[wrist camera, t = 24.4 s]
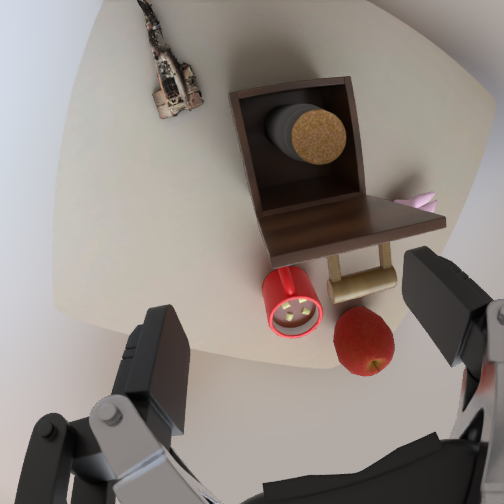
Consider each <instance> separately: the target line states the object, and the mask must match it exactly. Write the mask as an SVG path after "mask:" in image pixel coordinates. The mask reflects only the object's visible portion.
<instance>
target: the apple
mask: <svg viewBox="0 0 504 504" xmlns="http://www.w3.org/2000/svg"><path fill="white" fill-rule="evenodd" d="M333 341H334V345H335V349H336V352H337V356H338V359H339V362H340V363H341V364H342V365H343V366H344V367H345V368H347V369H348V370H349V371H350V372H351V373H352V374H356V375H360V376H372V375H374V374H377V373H378V372H380V371H381V370H382V369H384V368H385V367H386V366H387V365H388V364H389V363H390V361H391V360H392V357H393V354H394V350H395V347H394V345H395V344H394V338H393V334H392V332H391V330H390V328H389V327H388V326H387V324H386V323H385V322H384V320H383V319H382V318H381V316H379V315H377V314H376V313H374V312H372V311H371V310H369V309H367V308H365V307H363V306H362V307H354V308H352V309H350V310H348V311H346V312H345V313H344V314H343V315H342V316H341V317H340V318H339V319H338V321H337V322H336V325H335V330H334V340H333Z"/></svg>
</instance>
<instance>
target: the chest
mask: <svg viewBox="0 0 504 504" xmlns="http://www.w3.org/2000/svg"><path fill="white" fill-rule="evenodd" d="M228 98H229V103H230V107H231V111H232V116H233V120H234V124H235V129H236V133H237V137H238V142H239V146H240V151H241V155H242V159H243V164H244V168H245V173H246V177H247V182H248V186H249V191H250V195H251V199H252V203H253V206H254V210H255V214H256V217H257V218H259V217H263V216H268V215H273V214H277V213H282V212H286V211H291V210H296V209H301V208H305V207H310V206H315V205H320V204H325V203H330V202H335V201H340V200H345V199H350V198H355V197H360V196H365V195H366V188H365V177H364V166H363V156H362V148H361V139H360V132H359V124H358V118H357V111H356V105H355V99H354V93H353V87H352V82H351V77H350V76H347V77H333V78H322V79H312V80H304V81H296V82H288V83H282V84H275V85H269V86H263V87H257V88H252V89H247V90H242V91H237V92H232V93H229V97H228ZM287 104H311V105H315V106H317V107H319V108H321V109H323V110H326V111H328V112H331V113H333V114H334V115H336V116H337V117H338V118H339V119H340V121H341V122H342V124H343V126H344V128H345V131H346V143H345V147H344V149H343V151H342V153H341V154H340V156H339V157H338V158H336V159H335V160H334V161H332V162H330V163H327V164H322V165H316V164H311V163H308V162H303V161H298V160H295V159H293V158H291V157H289V156H288V155H286V154H285V153H284V152H282V151H281V150H280V149H278V148H277V147H276V146H275V145H274V144H272V143H271V142H270V141H269V139H268V138H267V136H266V134H265V131H264V122H265V118H266V116H267V115H268V113H269V112H270V111H271V110H272V109H274V108H275V107H278V106H281V105H287Z"/></svg>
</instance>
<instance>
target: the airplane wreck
mask: <svg viewBox="0 0 504 504" xmlns="http://www.w3.org/2000/svg"><path fill="white" fill-rule="evenodd" d="M137 2H138V3H139V5H140V7H141V8H142V10H143V12H144V13H145V14H144V15H145V16H146V25H145V26H146V27H147V28H148V33H149V41H150V45H151V48H152V52H153V55H154V60H155V65H156V69H157V77H158V80H159V83H160V87H161V90H160V91H158V92H155V93H153V94H152V96H153V98H154V100H155V103H156V107H157V109H158V112H159V115H160V118H161V119H165V118H168V117H172V116H174V117H175V116H177V115H178V113H179V112H180V111H181V110H189V111H191V109H193V108H196V107H198V106H200V105H202V104H203V102H204V101H203V100H202V99H201V98H200V97H202V96H201V92H200V91H199V90H198V87H194V83H195V81H196V80H195V81H194V80H193V79H195V78H196V77H194V75H193V74H194V73H193V72H192V70H191V67H190V65H188V64H186V63H183V64H179V63H178V62H177V59H176V58H175V56H174V55H172V52H171V51H170V50H171V49H170V48H169V49H166V48H164V49H166V50H163V49H162V48H160V47H159V46H161V45H160V44H159V43H158V38H157V35H156V34H158V33H159V32H158V33H155V32H156V30H158V29H159V30H160V29H161V27H160V26H159V25H158V24H159V21H156V20H157V18H156V16H155V14H154V12H153V10H152V8H151V6H152V4H151V6H150V5H149V3H148V2H147V1H146V0H143V2H142V1H141V0H137ZM151 12H152V14H151ZM153 14H154V15H153ZM154 18H155V19H154ZM153 19H154V20H153ZM153 23H156V26H153ZM161 30H162V29H161ZM161 30H160V33H161V34H162V32H161ZM152 36H154V37H152ZM155 38H156V40H155ZM162 38H163V35H162ZM156 42H157V43H158V44H157V43H156ZM163 45H167V44H163ZM180 66H181V67H182V70H180ZM196 85H197V84H196ZM198 93H199V94H198Z"/></svg>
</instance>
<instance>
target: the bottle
mask: <svg viewBox="0 0 504 504" xmlns="http://www.w3.org/2000/svg"><path fill="white" fill-rule="evenodd" d="M264 131H265V134H266V136H267V138H268V139H269V141H270V142H271V143H272V144H274V145H275V146H276V147H277V148H278V149H280V150H281V151H282V152H284V153H285V154H286V155H288V156H289V157H291V158H293V159H295V160H298V161H303V162H308V163H311V164H316V165H322V164H327V163H330V162H332V161H334V160H335V159H336V158H338V157H339V156H340V154H341V153H342V151H343V149H344V147H345V143H346V131H345V128H344V126H343V124H342V122H341V121H340V119H339V118H338V117H337V116H336V115H334V114H333V113H331V112H328V111H326V110H323V109H321V108H319V107H317V106H315V105H311V104H287V105H281V106H278V107H275V108H274V109H272V110H271V111H270V112H269V113H268V115H267V116H266V118H265V122H264Z"/></svg>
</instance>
